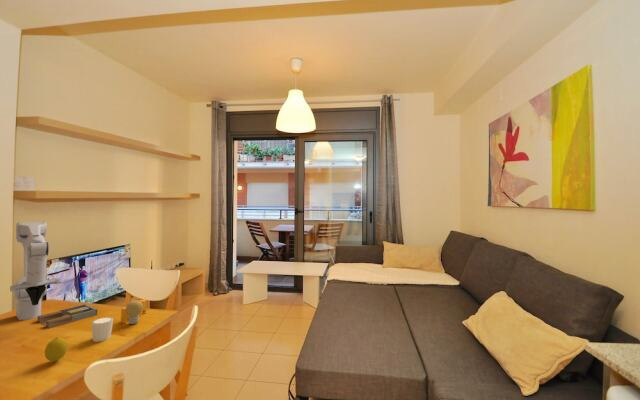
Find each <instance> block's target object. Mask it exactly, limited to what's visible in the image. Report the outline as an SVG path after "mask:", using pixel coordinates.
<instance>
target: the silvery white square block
mask: <svg viewBox="0 0 640 400" xmlns="http://www.w3.org/2000/svg"><path fill="white" fill-rule="evenodd" d="M78 310H80V313H83V312H87V311H90V308H88V307H82V308H78Z"/></svg>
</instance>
